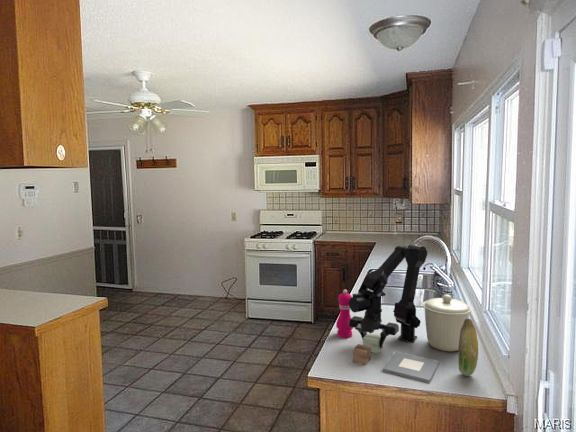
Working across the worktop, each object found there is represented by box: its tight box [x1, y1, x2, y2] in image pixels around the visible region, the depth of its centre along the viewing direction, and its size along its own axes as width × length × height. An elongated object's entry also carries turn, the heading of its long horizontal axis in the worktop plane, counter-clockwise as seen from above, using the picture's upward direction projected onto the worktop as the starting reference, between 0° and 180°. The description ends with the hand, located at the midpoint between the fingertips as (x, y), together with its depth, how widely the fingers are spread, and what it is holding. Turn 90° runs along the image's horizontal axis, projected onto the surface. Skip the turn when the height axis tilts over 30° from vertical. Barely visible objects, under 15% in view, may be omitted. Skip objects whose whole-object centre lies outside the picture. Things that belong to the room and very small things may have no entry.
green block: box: [362, 332, 384, 354], centre depth 160 cm, size 6×6×5 cm
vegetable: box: [458, 317, 479, 377], centre depth 137 cm, size 6×6×20 cm
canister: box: [422, 294, 473, 352], centre depth 162 cm, size 18×18×21 cm
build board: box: [381, 351, 441, 384], centre depth 145 cm, size 16×16×1 cm
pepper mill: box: [335, 289, 354, 339], centre depth 173 cm, size 7×7×20 cm
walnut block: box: [352, 343, 372, 366], centre depth 150 cm, size 5×5×5 cm
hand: (372, 346), depth 160 cm, fingers closed on green block, 6 cm apart
